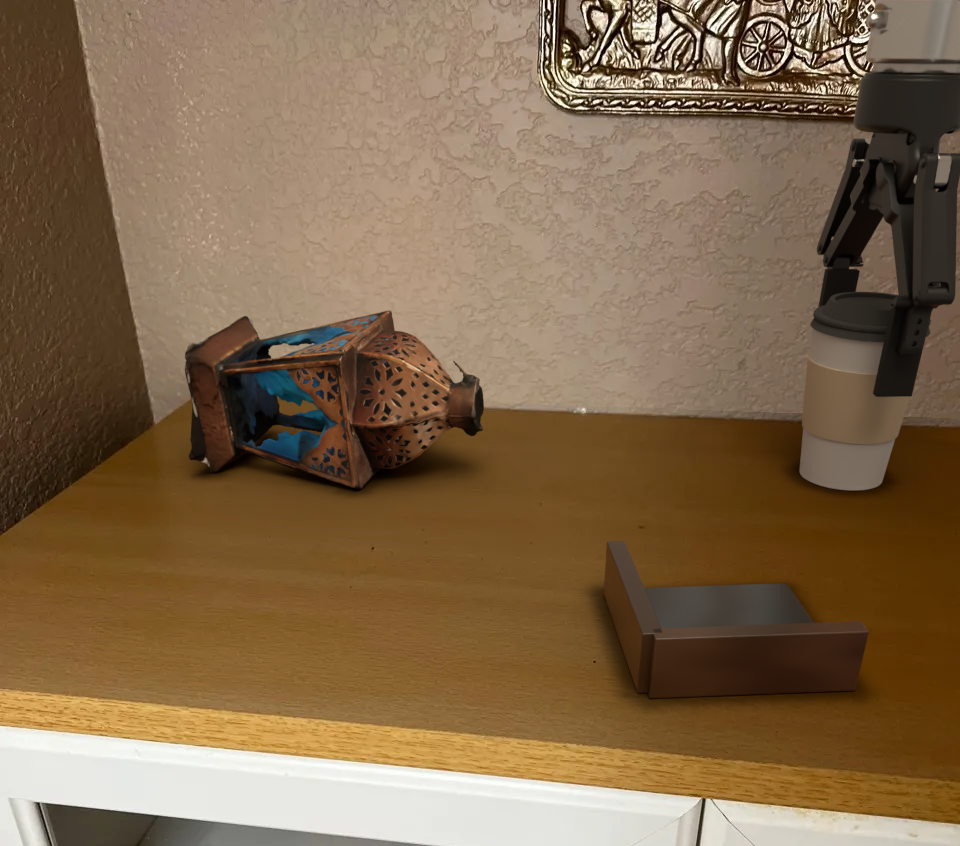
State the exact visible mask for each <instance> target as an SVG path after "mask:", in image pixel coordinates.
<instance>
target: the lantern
mask: <svg viewBox="0 0 960 846" xmlns="http://www.w3.org/2000/svg"><path fill="white" fill-rule="evenodd" d="M394 324H395V323H394V318H393V312H392V310H384V311H380V312H376V313H375V312H374V313H371V314H367V315H362V316H357V317H353V318H348V319H344V320H340V321H334V322H330V323H327V324H322V325H318V326H314V327H310V328H304V329H300V330H296V331H291V332H287V333H283V334H279V335H274V336H270V337H267V338H266V337H265V338H262V339H260V337H259V334H258V332H257V330H256V329H255V327H254V322H253V320H252V319H251V318H250V317H248V316H247V315H243V316H240V317H238V319H236V320H235V321H234V322H232V323H231V324H230V325H228V326H226V327H225V328H223V329H221V330H219V331H217V332H215V333H214V334H212V335H210V336H208V337H206V338H204V339H202V340H200V341H198V342H191V343H189V344H188V345H187V346H186V350H185V353H184V360H185V365H184V374H185V379H186V383H187V388H188V391H189V394H190V399H191V403H192V405H191V421H190V422H191V423H190V425H191V426H190V438H189V441H190V444H191V449H190V451H189V453H188V458H189V460H190V461H197V462H200V463H203V464H206V465H207V467H208V468H209V470H210V472H211V473H217V472H218V471H219V470H221V469H222V467H224V466H225V465H226V464H228V463H229V462H230V461H231V460H233V459H235V457H238V456H241V455H242V453H243V454H244V453H247V454H249V455H251V456H253V457H258V458H260V459H261V460H267V461H269V462H272V463H276V464H278V465H281V466H283V467H287V468H289V469H292V470H296V471H299V472H301V473H302V472H303V473H304V474H305V473H306V474H309V475H312V476H314V477H318V478H320V479H324V480H327V481H329V482H333V483H338V484H340V485H342V486H344V487H348V488H352V489H355V490H362V489H363V487H364V486H365V485H366V484H367V483H368V482H369V481H371V480H370V479H371V478H372V477H374V476H375V474H377V472H379V471H380V470H381V469H382V470H393V469H397V468H399V467H402V466H404V465H405V464H408V463H410V462H412V461H413V460H415V459H416V458H418V457H421V455H422V454H423V453H424V452H426V451H427V450H428V449H429V448H430V447H432V446H433V444H434V443H436V442H437V441H438V440H439V439H440V438H441V437H442V436H443V435H444V434H445V433H446V432H448V431H449V430H451V429H453V428H457V429H461V430H462V431H463V432H464V433H465V434H466V435H468V436H469V437H475V436H476V435H477V434H478V433H479V432H482V431H483V430H484V426H483V425H482V424H481V423H482V422H481V421H482V420H481V419H482V416H483V414H484V409H485V403H484V392H483V387H482V386H481V385H480V381H481V380H480V377H478V376H476V375H474V374H468V373H467V372H465V370H464V369H463V368H462V367H461V366H460V365H459V364H458V363H457V362H456V361H455V360H453V364H454V365H455V366H456V367H457V368H458V370H459V372H460V373H462V379H461V381H458V382H454V381H453V379H452V378H451V376H450V374H449V373H448V372H447V371H446V369H445V367H444V366H443V365H442V363H441V361H440V360H439V359H438V358H437V357H436V355H435V354H434V353H433V352H432V350H430V349H429V348H428V347H427V346H426V344H425V343H424V342H422V340H420V339H419V338H418V337H417V336H415V335H413V334H411V333H409V332H406V331H401V330H395V325H394ZM283 344H284V345H285V344H286V345H288V346H290V347H292V346H293V347H298V346H301V345H308V346H305V347H303V348H301V349H298V350H295V351H291V352H289V353H287V354H285V355H281V356H280V357H279V356H278V357H274V358H272V355H270V349H271V348H272V347H273V346H280V345H281V346H282V345H283ZM278 399H280V400H281V401H286V402H287V403H294V404H296V405H297V407H301V406H302V404H303V401H306V402H307V403H311V404H313V405H314V407H315V408H316V409H313V410H309V411H307V412H302V411H301V412H298V413H294V414H292V415H288V414H285V413H282V412H281V411H280V403H279V400H278ZM273 426H282V427H287V428H292V429H293V428H294V429H299V430H300V431H298V432H297V433H295V434H291V433H290V432H288V431H287V430H285V431H283V432H279V433H278V434H277V438H278V439H277V440H275V439H272V438H267V439H265V440H263V441H262V443H261V444H260V445H256V443H257V442H258V440H259V439H261V438H262V437H264V435H265V434H266V433H268V432H269V430H271V428H272V427H273ZM315 432H317V433H321V434H320V435H318V434H317V433H315Z"/></svg>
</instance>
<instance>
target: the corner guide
mask: <svg viewBox="0 0 960 846" xmlns="http://www.w3.org/2000/svg"><path fill="white" fill-rule="evenodd" d="M631 555H632V554H631V553H630V551H629V548H628V545H627V543H626V541H625V540H607V541H606V552H605V566H604V581H603V582H604V583H603V596H604V599H605V603H606V605H607V608H608V611H609V614H610V617H611V621H612V622H613V626H614V629H615V632H616V634H617V638H618V640H619V643H620V646H621V649H622V653H623V656H624V658H625V661H626V663H627V667H628V669H629V672H630V673H629V674H630V675H631V679H632V681H633V684H634V688H635V690H636V693H637V694H648V697H649V699H671V698H694V697H721V696H722V697H723V696H748V695H773V694H775V695H776V694H777V695H778V694H798V693H799V694H800V693H802V694H803V693H824V692H826V693H829V692H852V691H853V692H854V691H856V690H857V686H858V681H859V676H860V672H861V668H862V664H863V659H864V655H865V650H866V647H867V642H868V638H869V632H870V631H869V630H868V628H867V627H866V626H865V625H864V623H863V622H862V621H861V620H859V621H858V620H857V621H833V622H831V621H830V622H829V621H827V622H814V621H813V619H812V618H811V616H810V615H809V614H808V612H807V610H806V609H805V608H804V606H803V605H802V603H801V602H800V600H799V599H798V597H797V596H796V595H795V594H794V592H793V590H792V589H791V587H790V586H789V584H788V583H786V582H784V583H783V582H782V583H756V584H755V583H753V584H751V583H750V584H723V585H719V584H718V585H693V586H692V585H691V586H689V585H688V586H665V587H664V586H663V587H662V586H661V587H645V586H644V584H643V581H642V579H641V576H640V574H639V572H638V570H637V567H636V564H635V562H634V560H633V557H632V556H631Z"/></svg>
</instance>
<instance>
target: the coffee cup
mask: <svg viewBox="0 0 960 846" xmlns="http://www.w3.org/2000/svg"><path fill="white" fill-rule="evenodd" d="M896 296H899V294H894V293H887V292H878V291H877V292H876V291H875V292H874V291H856V292H845V293H839V294H835V295H832V296H831V297H830V299H829V300H828V302H827V304H826V305H823V306H820V307H816V308H815V309H814V310H813V318H812V320H811V322H810V325H809V326H810V328H812V331H811V341H810V352H809V353H808V354H807V360H806V361H807V362H806V374H805V384H804V394H803V395H804V397H803V407H802V419H801V427H802V439H801V448H800V451H801V452H800V460H799V461H800V462H799V469H798V470H799V474H800V476H801V477H802V478H803V479H804V480H806V481H807V482H809V483H812V484H814V485H818V486H820V487H824V488H828V489H833V490H840V491H866V490H867V491H868V490H871V489H875V488H877V487H879V486H880V485H882V484H883V481H884V478H885V475H886V470H887V467H888V464H889V462H890V457H891V453H892V451H893V448H894V445H895V441H896V439H897V438H898V436H899V434H900V431H901V427H902V425H903V421H904V418H905V415H906V411H907V408H908V405H909V401H910V399H911V396H907V397H876V396H875V395H874V394H873V390H874V386H875V381H876V376H877V372H878V367H879V362H880V358H881V353H882V348H883V344H884V339H885V334H886V330H887V325H888V320H889V316H890V311H891V308H890V305H889V304H890V303H891V302H892V301H893V300H894V299H895V298H896ZM931 322H932V320H931V319H930V321H929V325H928V330H927V334H926V338H927V337H929V336H930V334H931V330H930V326H931V324H932V323H931ZM926 338H925V340H927V339H926ZM920 365H921V364H920V363H919V366H920ZM919 369H920V367H919V368H918V370H919Z"/></svg>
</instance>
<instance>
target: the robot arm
mask: <svg viewBox="0 0 960 846" xmlns="http://www.w3.org/2000/svg"><path fill="white" fill-rule="evenodd" d="M865 19H866V20H865V25H866V27H867V28H868V29H870V32H869V36H868V41H867V47H866V53H865V60H866V61H867V62H868V63H869V64H871V63H873V64H872V72H865V73H864V77H860V83H859V88H858V94H857V99H856V106H855V110H854V117H853V127H854V128H855V129H856V130H858V131H861V132H865V133H872V136H871V137H870V138H868V137H867V138H853V139H852V140H851V142H850V145H849V149H848V155H847V158H846V164H845V168H844V171H843V174H842V177H841V179H840V182H839V185H838V187H837V190H836V193H835V196H834V198H833V201H832V204H831V207H830V209H829V212H828V215H827V217H826V221H825V222H824V226H823V229H822V231H821V234H820V237H819V239H818V242H817V245H816V253H817V255H818V256H823V257H822V264H823V267H824V268H825V269H824V273H823V278H822V279H823V280H822V284H821V290H820V296H819V301H818V307H820V306H823V305H826V304H827V302H828V300H829V299H830V297H831V296H832V295H835V294H839V293H845V292H857V287H858V282H859V277H860V272H861V271H860V270H859V269H857V268H862V267H864V261H863V256H862V254H863V252H864V250H866V249H865V248H866V247H867V246H868V245H869V244H868V243H869V242H870V241H871V239H872V237H873V235H874V233H875V232H876V230H877V228H878V227H879V225H880V224H881V222H882V220H883V221H884V222H885V223H887V224H888V225H890V227H891V236H892V246H893V256H894V264H895V274H896V283H897V284H896V285H897V293H898V294H897V295H899V296H896V298H895V299H894V300H893V301H892V302H891V303H890V304H889V305H890V308H891V311H890V316H889V320H888V325H887V330H886V334H885V339H884V344H883V348H882V353H881V358H880V362H879V367H878V372H877V376H876V381H875V386H874V390H873V394H874V395H875V396H876V397H907V396H910V397H912V396H913V392H914V390H915V389H914V388H915V384H916V380H917V376H918V373H919V369H920V365H919V364H920V363H921V359H922V354H923V350H924V346H925V341H926V339H925V338H927V337H926V334H927V330H928V325H929V321H930V320H931V317H932V312H933V310H934V309H937V308H938V307H941V306H943V305H947V306H949V305H952V304H953V303H954V301H955V298H956V285H957V284H956V283H957V282H956V281H957V280H956V279H957V231H958V230H957V226H958V225H957V223H958V188H959V183H960V152H940V144H941V143H940V142H941V138H942V137H943V136H944V135H950V134H957V133H958V132H960V0H875V3H874V8H873V12H870V13H868V15H867V16H866V18H865ZM818 307H817V308H818ZM918 368H919V369H918Z"/></svg>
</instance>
